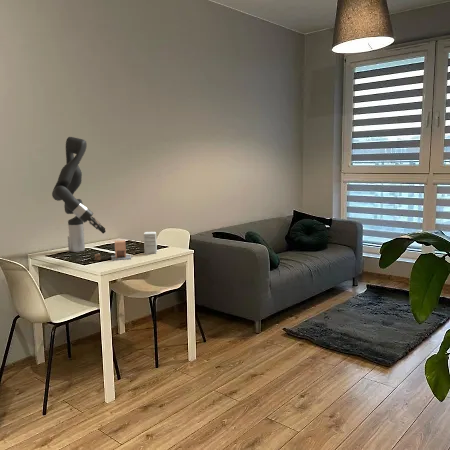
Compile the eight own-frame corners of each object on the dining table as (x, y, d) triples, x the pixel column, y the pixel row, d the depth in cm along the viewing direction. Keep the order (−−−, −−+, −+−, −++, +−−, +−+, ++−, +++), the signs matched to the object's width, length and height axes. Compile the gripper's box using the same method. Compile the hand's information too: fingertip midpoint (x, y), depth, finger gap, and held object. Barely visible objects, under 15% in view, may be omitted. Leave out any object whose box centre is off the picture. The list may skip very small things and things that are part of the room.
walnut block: (95, 260, 264) (94, 255, 264) (95, 259, 267) (94, 254, 267) (100, 260, 265) (100, 255, 265) (100, 259, 268) (100, 254, 268)
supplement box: (145, 251, 287) (144, 231, 285) (157, 251, 288) (156, 231, 286) (144, 254, 280) (143, 233, 278) (156, 253, 280) (155, 233, 279)
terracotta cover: (115, 258, 266) (114, 242, 264) (115, 256, 272) (114, 240, 270) (126, 257, 267) (125, 241, 266) (125, 255, 273) (124, 240, 272)
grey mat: (111, 260, 263) (111, 259, 263) (111, 256, 273) (111, 255, 273) (131, 259, 266) (131, 258, 266) (129, 255, 276) (129, 254, 276)
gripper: (87, 209, 254) (109, 228, 259) (87, 206, 267) (108, 224, 272) (77, 219, 253) (100, 238, 258) (78, 216, 267) (99, 234, 271)
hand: (104, 231), depth 265 cm, fingers open, 8 cm apart
